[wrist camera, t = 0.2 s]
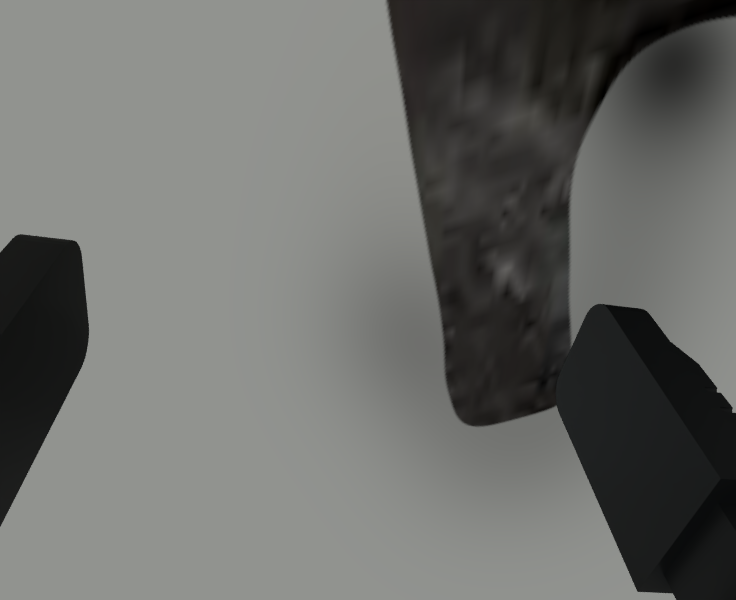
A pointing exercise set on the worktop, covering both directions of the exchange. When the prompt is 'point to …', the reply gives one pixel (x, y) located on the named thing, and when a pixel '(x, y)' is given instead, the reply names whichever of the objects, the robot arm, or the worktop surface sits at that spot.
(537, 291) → the worktop surface
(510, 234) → the worktop surface
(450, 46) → the worktop surface
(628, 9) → the worktop surface
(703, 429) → the robot arm
